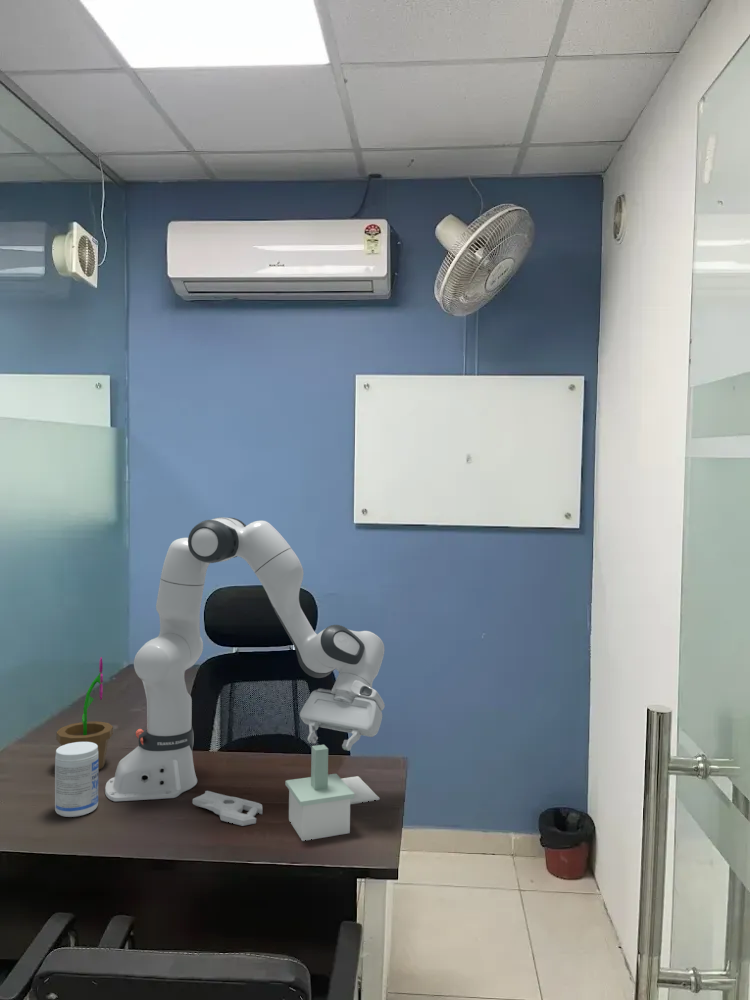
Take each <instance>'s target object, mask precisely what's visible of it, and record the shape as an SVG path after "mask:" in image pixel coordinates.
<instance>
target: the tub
mask: <svg viewBox="0 0 750 1000" xmlns="http://www.w3.org/2000/svg"><path fill="white" fill-rule="evenodd" d="M288 791H289V792H288V821H289V823H290V822H291V823H290V824H291V826H292V827H293V829H294V830H295V832H296V834H297V835H298V837H299V839H300V840H301V841H302V842H306V841H312V840H317V839H322V838H323V839H324V838H328V837H335V836H339V835H346V834H351V833H350V832H351V804H350V799H345V800H339V801H332V802H326V803H319V804H313V805H306V806H300V805H299V803H298V802H297V800H296V799H295V798H294V796H293V795H292V793H291V792H290V790H289V789H288ZM311 839H312V840H311ZM305 840H306V841H305Z"/></svg>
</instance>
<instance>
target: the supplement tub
mask: <svg viewBox="0 0 750 1000" xmlns="http://www.w3.org/2000/svg"><path fill="white" fill-rule="evenodd" d="M54 757H55V758H54V761H55V762H54V810H55V813H56V814H57V815H58V816H61V817H66V818H72V817H73V818H77V817H80V816H85V815H87V814H89V813H92V812H94V811H95V810H96V809H97V808H98V807H99V806H98V805H99V770H98V745H97V744H95V743H92V742H74V743H69V744H65V745H63V746H61V745H60V746H59V747H58V748H56V750H55V756H54Z"/></svg>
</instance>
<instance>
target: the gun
mask: <svg viewBox="0 0 750 1000" xmlns="http://www.w3.org/2000/svg"><path fill="white" fill-rule="evenodd" d="M192 804H193V805H194V806H196V807H200V808H203V809H207V810H209V811H211V812H213V813H214V814H216V815H218V816H219V818H220V821H221V822H226V823H228V822H229V823H230V824H232V823H233V825H237V826H241V827H244V826H249V825H250V826H251V825H255V824H256V823H257V817H255V816H256V815H257V814H258V813H259V814H258V815H263V804H261V803H260V802H257V801H252V800H248V799H245V798H240V797H236V796H230V795H225V794H222V793H219V792H218V793H217V792H214V791H211V790H204V793H203V794H201V795H197V796H196V797H194V798H192ZM243 811H246V813H243Z"/></svg>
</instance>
